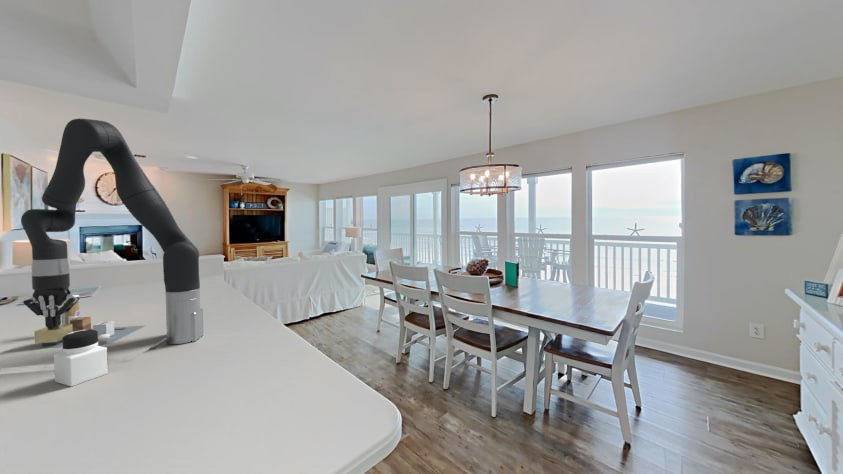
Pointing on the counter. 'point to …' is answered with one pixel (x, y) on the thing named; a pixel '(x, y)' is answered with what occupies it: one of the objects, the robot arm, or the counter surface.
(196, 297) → the robot arm
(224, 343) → the counter surface
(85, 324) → the walnut fader
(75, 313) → the sprinkles bottle
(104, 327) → the grey fader
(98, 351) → the medicine bottle
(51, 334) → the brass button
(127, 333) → the board
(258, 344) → the counter surface
